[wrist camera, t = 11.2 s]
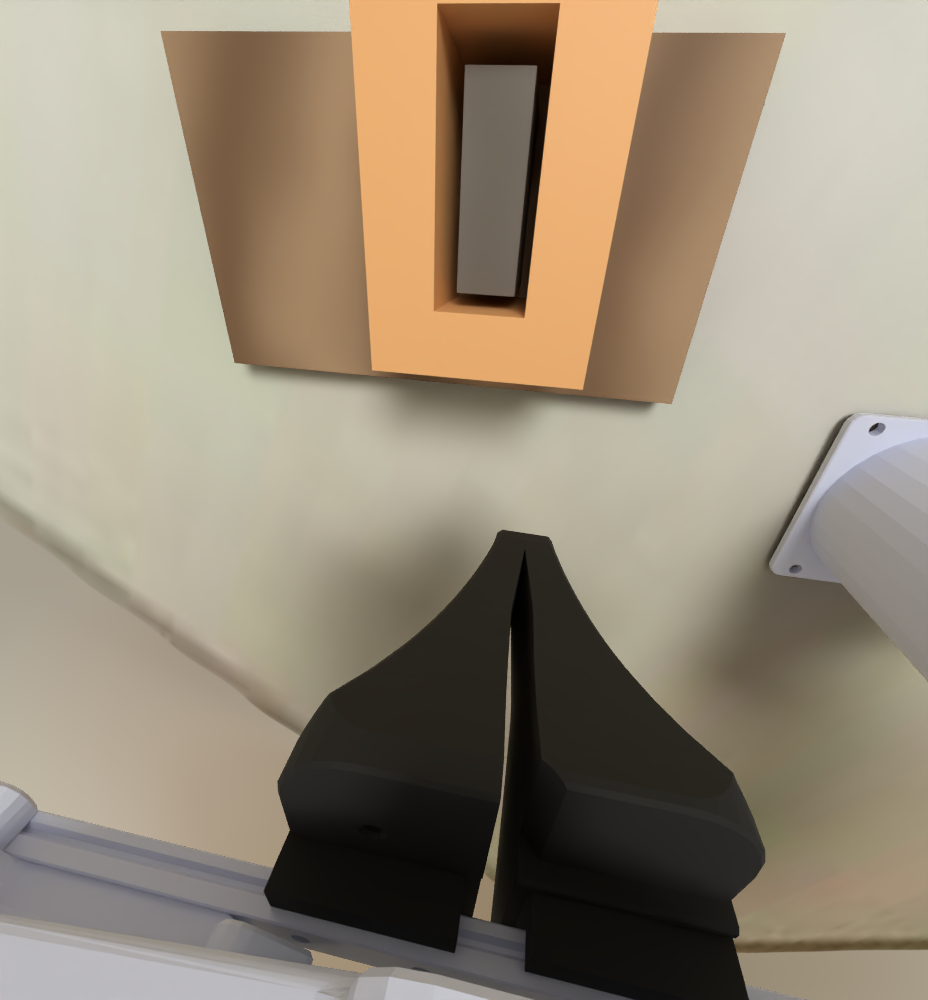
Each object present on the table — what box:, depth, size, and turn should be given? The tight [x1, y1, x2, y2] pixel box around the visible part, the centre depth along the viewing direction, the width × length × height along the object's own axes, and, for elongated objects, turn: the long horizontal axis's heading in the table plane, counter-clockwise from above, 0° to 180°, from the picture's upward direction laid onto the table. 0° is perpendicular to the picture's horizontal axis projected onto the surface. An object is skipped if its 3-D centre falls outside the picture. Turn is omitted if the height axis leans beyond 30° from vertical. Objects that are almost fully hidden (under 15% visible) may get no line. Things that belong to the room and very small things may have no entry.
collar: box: [349, 0, 658, 390], centre depth 12 cm, size 6×9×5 cm, turn 177°
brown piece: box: [161, 31, 786, 404], centre depth 14 cm, size 18×10×6 cm, turn 87°
